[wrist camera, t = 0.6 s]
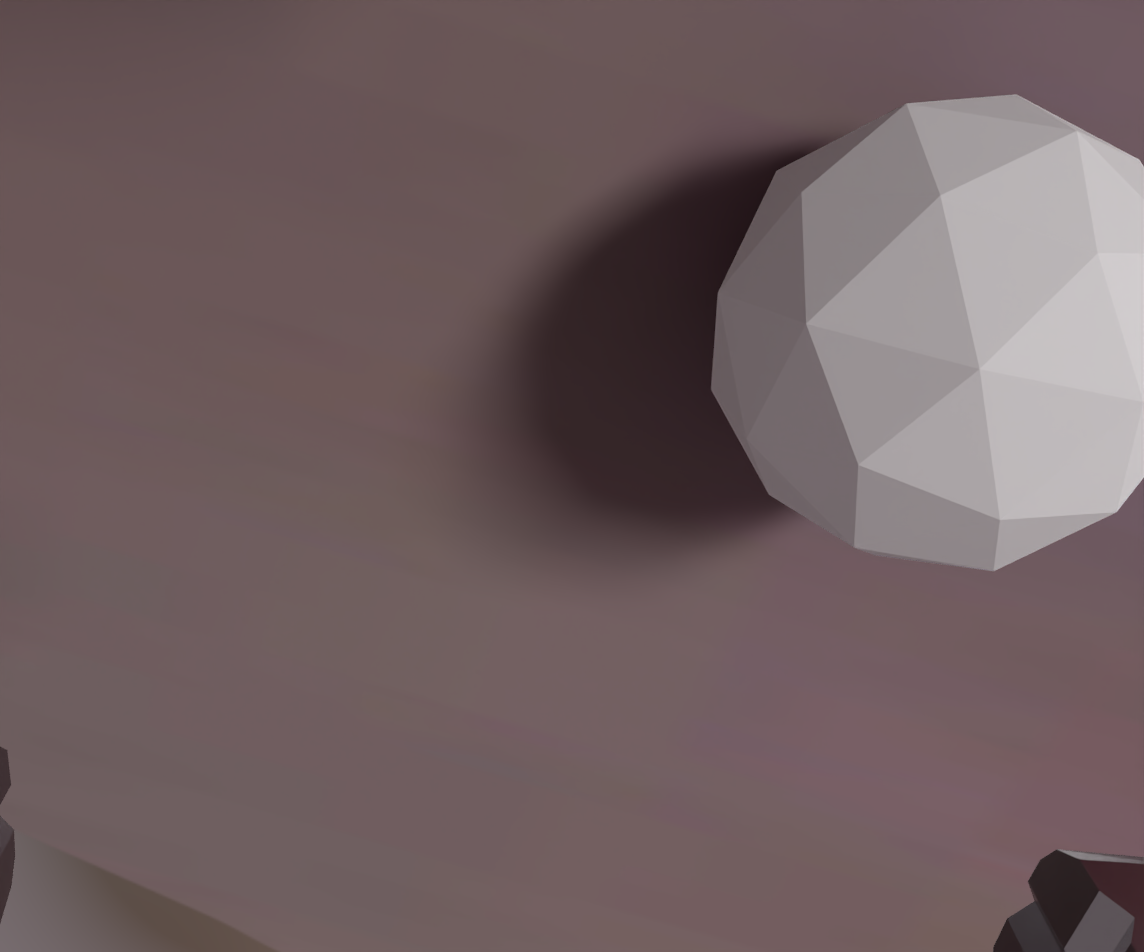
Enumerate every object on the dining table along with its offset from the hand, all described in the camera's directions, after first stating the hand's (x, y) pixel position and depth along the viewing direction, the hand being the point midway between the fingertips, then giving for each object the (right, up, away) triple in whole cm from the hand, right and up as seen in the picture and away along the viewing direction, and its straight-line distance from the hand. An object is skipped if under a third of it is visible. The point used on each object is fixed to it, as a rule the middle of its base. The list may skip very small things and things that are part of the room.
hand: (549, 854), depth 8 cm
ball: (+15, +13, +45) cm, 50 cm away
